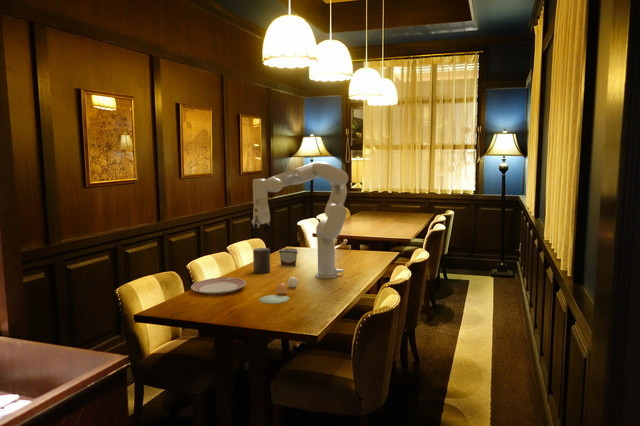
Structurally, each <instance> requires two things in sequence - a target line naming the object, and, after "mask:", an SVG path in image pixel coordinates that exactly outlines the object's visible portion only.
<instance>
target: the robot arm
mask: <svg viewBox="0 0 640 426" xmlns="http://www.w3.org/2000/svg"><path fill="white" fill-rule="evenodd" d="M318 178H322V179H324V180H326V181H328V183H329V184H330V186H331V192H330V196H329V199H328V200H327V203H326V206H325V209H324V214H325V216H326V217H327V219H326V220H325V219H323V220H320V221H319V222H318V223H317V225H316V229H315V233H316V239H317V240H316V241H317V273H315V275H314V276H315V277H316V278H318V279H322V280H323V279H335V278H337V277H338V276H339V275H338V273H339V274H340V273H344V268H343V269H342V268H341V269H340V268H337V267H336V266H335V265H336V262H335V261H336V260H335V259H336V251H335V249H336V247H335V246H336V245H335V239H337V238H338V237H339V235H340V234H341V230H342V229H343V225H344V223H345V221H346V218H347V212H348V211H347V208H346V207H345V205H344V204H345V201H346V198H347V194H348V188H347V183H348V182H349V175H348V173H347V172H346V171H345V170H343V169H341V168H338V167H336V166H334V165H332V164H330V163H328V162H326V161H323V160H322V161H320V160H319V161H314V162H312V163H311V162H310V163H308V164H305V165H303V166H300V167H296V168H294V169H290V170H288V171H285V172H281V173H279V174H276V175H273V176H271V177H268V178H254V179H252V180H253V181H252V195H253V196H252V200H253V208H252V209H253V210H252V211H253V213H252V214H253V215H252V219H251V223H252V227H253V236H260V235H261V231H260V226H261V225H263V233H265V234H268V233H269V234H270V223H271V215H270V214H271V213H270V207H269V202H268V192H269V193H277V192H279V191H281V190H282V189H283V188H284V187H287V186H292V185H293V186H294V185H300V184H303V183H306V182H309V181H312V180H314V179H318Z"/></svg>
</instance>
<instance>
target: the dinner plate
mask: <svg viewBox="0 0 640 426" xmlns="http://www.w3.org/2000/svg"><path fill="white" fill-rule="evenodd" d="M246 284H247V283H246V281H245V280H244V279H242V278H238V277H214V278H207V279H204V280H203V279H202V280H200V281H196V282H194V283H193V284H192V285H191V286H190V289H191V290H193V291H195V292H198V293H201V294H206V295H224V294H229V293H230V294H231V293H233V292H235V291H237V290H240V289H242V288H243V287H244V286H245V285H246Z"/></svg>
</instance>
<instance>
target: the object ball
mask: <svg viewBox="0 0 640 426" xmlns="http://www.w3.org/2000/svg"><path fill="white" fill-rule="evenodd" d="M275 291H276V293H277V295H283V296H284V295H286V293H287V292H288V285H287V284H285V283H278V284H277V285H276V288H275Z"/></svg>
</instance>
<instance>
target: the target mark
mask: <svg viewBox="0 0 640 426" xmlns="http://www.w3.org/2000/svg"><path fill="white" fill-rule="evenodd" d="M258 300H259V302H261V303H264V304H270V305H271V304H273V305H275V304H282V303H286V302H288V301H289V300H290V297H289V296H287V295H284V294H283V295H280V294H270V295H269V294H268V295H265V296H262V297H260V298H259V299H258Z"/></svg>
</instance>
